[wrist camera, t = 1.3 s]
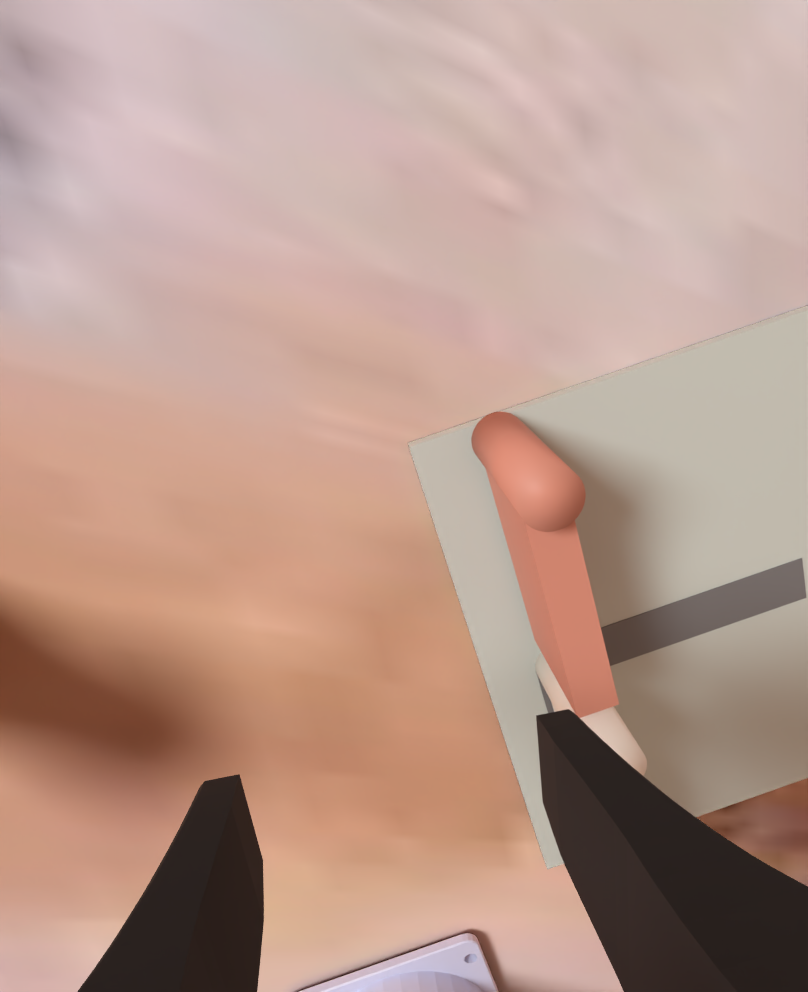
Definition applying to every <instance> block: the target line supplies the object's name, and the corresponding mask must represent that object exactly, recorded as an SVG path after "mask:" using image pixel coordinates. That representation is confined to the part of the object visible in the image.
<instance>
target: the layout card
mask: <svg viewBox="0 0 808 992" xmlns="http://www.w3.org/2000/svg"><path fill="white" fill-rule="evenodd" d="M499 412H507V413H511V414H513V415H515V416H516V417H517V418H518V419H519V420H521V421H522V422H523V423H524V424H525V425H526V426H527V427H528V428H529V429H530V430H531V431H532V432H533V433H534V434H535V435H536V436H537V437H538V438H539V439H540V440H541V441H542V442H543V443H545V444H546V445H547V446H548V447H549V448H550V449H551V450H552V451H553V452H554V453H555V454H556V455H557V456H558V457H559V458H560V459H561V460H562V461H563V462H564V463H565V464H566V465H567V466H569V467H570V468H571V469H572V470H573V471H574V472H575V473H576V474H577V475H578V476H579V477H580V479H581V480H582V482H583V484H584V487H585V492H586V498H585V503H584V507H583V509H582V511H581V513H580V514H579V516H578V517H577V518H576V519H575V523H576V527H577V532H578V536H579V540H580V544H581V548H582V552H583V556H584V560H585V565H586V569H587V573H588V577H589V581H590V585H591V589H592V594H593V598H594V602H595V606H596V610H597V614H598V618H599V623H600V627H601V631H602V635H603V639H604V643H605V647H606V651H607V656H608V660H609V664H610V668H611V672H612V676H613V680H614V685H615V689H616V693H617V697H618V701H619V705H616V706H614V707H615V709H616V711H617V712H618V714H619V715H620V717H621V718H622V720H623V722H624V723H625V725H626V726H627V728H628V729H629V731H630V733H631V734H632V736H633V737H634V739H635V741H636V742H637V744H638V745H639V747H640V748H641V750H642V752H643V753H644V755H645V757H646V759H647V768H646V772H645V774H644V775H643V776H644V777H645V778H646V779H647V780H649V781H650V782H651V783H652V784H653V785H655V786H656V787H657V788H658V789H659V790H661V791H662V792H663V793H665V794H666V795H667V796H668V797H670V798H671V799H672V800H673V801H675V802H676V803H677V804H679V805H680V806H681V807H683V808H684V809H685V810H687V811H688V812H689V813H691V814H692V815H693V816H695V817H698V816H701V815H704V814H707V813H710V812H712V811H715V810H718V809H721V808H724V807H727V806H729V805H732V804H735V803H738V802H741V801H744V800H747V799H749V798H752V797H755V796H758V795H761V794H764V793H766V792H769V791H772V790H775V789H778V788H781V787H784V786H786V785H789V784H792V783H795V782H798V781H801V780H803V779H806V778H808V305H807V306H804V307H801V308H799V309H796V310H793V311H790V312H787V313H784V314H781V315H778V316H775V317H772V318H769V319H767V320H764V321H761V322H758V323H755V324H752V325H749V326H746V327H743V328H740V329H738V330H735V331H732V332H729V333H726V334H723V335H720V336H717V337H714V338H711V339H708V340H706V341H703V342H700V343H697V344H694V345H691V346H688V347H685V348H682V349H679V350H676V351H674V352H671V353H668V354H665V355H662V356H659V357H656V358H653V359H650V360H647V361H645V362H642V363H639V364H636V365H633V366H630V367H627V368H624V369H621V370H618V371H615V372H613V373H610V374H607V375H604V376H601V377H598V378H595V379H592V380H589V381H586V382H583V383H581V384H578V385H575V386H572V387H569V388H566V389H563V390H560V391H557V392H554V393H552V394H549V395H546V396H543V397H540V398H537V399H534V400H531V401H528V402H525V403H522V404H520V405H517V406H514V407H511V408H508V409H505V410H502V411H499ZM482 418H484V417H482ZM482 418H479V419H476V420H473V421H470V422H467V423H464V424H461V425H459V426H456V427H453V428H450V429H447V430H444V431H441V432H438V433H435V434H432V435H429V436H427V437H424V438H421V439H418V440H415V441H412V442H409V443H408V446H409V449H410V452H411V455H412V458H413V462H414V465H415V468H416V471H417V474H418V477H419V480H420V483H421V486H422V489H423V492H424V495H425V498H426V501H427V504H428V507H429V510H430V513H431V516H432V520H433V523H434V526H435V529H436V532H437V535H438V538H439V541H440V544H441V547H442V550H443V553H444V556H445V559H446V562H447V565H448V568H449V571H450V574H451V578H452V581H453V584H454V587H455V590H456V593H457V596H458V599H459V602H460V605H461V608H462V611H463V614H464V617H465V620H466V623H467V626H468V629H469V632H470V636H471V639H472V642H473V645H474V648H475V651H476V654H477V657H478V660H479V663H480V666H481V669H482V672H483V675H484V678H485V681H486V684H487V687H488V691H489V694H490V697H491V700H492V703H493V706H494V709H495V712H496V715H497V718H498V721H499V724H500V727H501V730H502V733H503V736H504V739H505V742H506V745H507V749H508V752H509V755H510V758H511V761H512V764H513V767H514V770H515V773H516V776H517V779H518V782H519V785H520V788H521V791H522V794H523V797H524V800H525V803H526V807H527V810H528V813H529V816H530V819H531V822H532V825H533V828H534V831H535V834H536V837H537V840H538V843H539V846H540V849H541V852H542V855H543V858H544V861H545V864H546V867H547V869H550V868H553V867H556V866H559V865H562V864H564V862H563V860H562V857H561V855H560V852H559V849H558V846H557V843H556V840H555V838H554V835H553V832H552V829H551V826H550V823H549V820H548V817H547V814H546V811H545V808H544V805H543V801H542V787H541V774H540V761H539V748H538V734H537V721H536V715H541V714H546V713H551V712H554V710H553V706H552V703H551V700H550V698H549V696H548V694H547V693H546V691H545V689H544V687H543V685H542V683H541V681H540V679H539V677H538V675H537V673H536V670H535V663H536V659H537V657H538V655H539V654H540V653H541V650H540V649H539V647H538V645H537V643H536V641H535V639H534V636H533V632H532V629H531V625H530V622H529V618H528V615H527V611H526V608H525V604H524V601H523V597H522V594H521V590H520V587H519V583H518V580H517V577H516V573H515V570H514V566H513V563H512V559H511V556H510V552H509V549H508V545H507V542H506V538H505V535H504V531H503V528H502V524H501V521H500V517H499V514H498V510H497V507H496V503H495V500H494V496H493V493H492V489H491V486H490V482H489V479H488V475H487V472H486V468H485V467H484V465H483V464H482V463H481V461H480V460H479V459H478V457H477V456H476V454H475V453H474V451H473V448H472V443H471V439H472V433H473V430H474V428H475V426H476V425H477V423H478V422H479V421H480V420H481V419H482Z"/></svg>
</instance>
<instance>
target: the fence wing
mask: <svg viewBox="0 0 808 992" xmlns="http://www.w3.org/2000/svg"><path fill="white" fill-rule="evenodd" d="M471 443H472V448H473V451H474V453H475V454H476V456H477V457H478V459H479V460H480V461H481V463H482V464H483V465H484V467H485V468H486V472H487V475H488V479H489V482H490V486H491V489H492V493H493V496H494V500H495V503H496V507H497V510H498V514H499V517H500V521H501V524H502V528H503V531H504V535H505V538H506V542H507V545H508V549H509V552H510V556H511V559H512V563H513V566H514V570H515V573H516V577H517V580H518V583H519V587H520V590H521V594H522V597H523V601H524V604H525V608H526V611H527V615H528V618H529V622H530V625H531V629H532V632H533V636H534V639H535V641H536V643H537V645H538V647H539V649H540V650H541V652H542V654H543V656H544V658H545V660H546V661H547V663H548V665H549V667H550V669H551V670H552V672H553V674H554V676H555V678H556V680H557V681H558V683H559V685H560V687H561V689H562V690H563V692H564V694H565V696H566V698H567V700H568V701H569V703H570V705H571V707H572V709H573V710H574V712H575V714H576V715H577V716H578V717H579V718H582V717H584V716H587V715H590V714H593V713H596V712H599V711H602V710H604V709H607V708H610V707H613V706H616V705H619V701H618V697H617V693H616V689H615V685H614V680H613V676H612V672H611V668H610V664H609V660H608V656H607V651H606V647H605V643H604V639H603V635H602V631H601V627H600V623H599V618H598V614H597V610H596V606H595V602H594V598H593V594H592V589H591V585H590V581H589V577H588V573H587V569H586V565H585V560H584V556H583V552H582V548H581V544H580V540H579V536H578V532H577V527H576V523H575V519H576V518H577V517H578V516H579V514H580V513H581V511H582V509H583V507H584V503H585V498H586V492H585V487H584V484H583V482H582V480H581V479H580V477H579V476H578V475H577V474H576V473H575V472H574V471H573V470H572V469H571V468H570V467H569V466H567V465H566V464H565V463H564V462H563V461H562V460H561V459H560V458H559V457H558V456H557V455H556V454H555V453H554V452H553V451H552V450H551V449H550V448H549V447H548V446H547V445H546V444H545V443H543V442H542V441H541V440H540V439H539V438H538V437H537V436H536V435H535V434H534V433H533V432H532V431H531V430H530V429H529V428H528V427H527V426H526V425H525V424H524V423H523V422H522V421H521V420H519V419H518V418H517V417H516V416H515V415H513V414H511V413H507V412H494V413H491V414H489V415H487V416H485V417H484V418H482V419H481V420H480V421H479V422H478V423H477V425H476V426H475V428H474V430H473V433H472V439H471Z"/></svg>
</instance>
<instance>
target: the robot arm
mask: <svg viewBox="0 0 808 992" xmlns="http://www.w3.org/2000/svg"><path fill="white" fill-rule="evenodd" d="M536 721H537V734H538V748H539V761H540V774H541V787H542V801H543V805H544V808H545V811H546V814H547V817H548V820H549V823H550V826H551V829H552V832H553V835H554V838H555V840H556V843H557V846H558V849H559V852H560V855H561V857H562V860H563V862H564V864H565V866H566V868H567V870H568V873H569V875H570V877H571V879H572V881H573V883H574V886H575V888H576V890H577V892H578V894H579V896H580V898H581V901H582V903H583V905H584V907H585V909H586V911H587V913H588V915H589V917H590V920H591V922H592V924H593V926H594V928H595V930H596V932H597V934H598V937H599V939H600V941H601V943H602V945H603V947H604V949H605V951H606V954H607V956H608V958H609V960H610V962H611V964H612V966H613V968H614V970H615V973H616V975H617V977H618V979H619V981H620V984H621V986H622V988H623V991H624V992H808V887H807V886H805V885H804V884H802V883H800V882H798V881H796V880H794V879H793V878H791V877H789V876H787V875H785V874H783V873H782V872H780V871H778V870H776V869H774V868H772V867H771V866H769V865H767V864H766V863H764V862H762V861H761V860H759V859H757V858H756V857H754V856H752V855H751V854H749V853H747V852H746V851H744V850H743V849H741V848H740V847H738V846H737V845H735V844H734V843H732V842H730V841H729V840H727V839H726V838H724V837H723V836H721V835H720V834H718V833H717V832H716V831H714V830H713V829H711V828H710V827H708V826H707V825H706V824H704V823H703V822H701V821H700V820H699V819H697V818H696V817H695V816H693V815H692V814H691V813H689V812H688V811H687V810H685V809H684V808H683V807H681V806H680V805H679V804H677V803H676V802H675V801H673V800H672V799H671V798H670V797H668V796H667V795H666V794H665V793H663V792H662V791H661V790H659V789H658V788H657V787H656V786H655V785H653V784H652V783H651V782H650V781H649V780H647V779H646V778H645V777H644V776H643V775H642V774H640V773H639V772H638V771H637V770H636V769H634V768H633V767H632V766H631V765H630V764H629V763H627V762H626V761H625V760H624V759H623V758H622V757H621V756H620V755H618V754H617V753H616V752H615V751H614V750H613V749H612V748H611V747H610V746H609V745H607V744H606V743H605V742H604V741H603V740H602V739H601V738H600V737H599V736H598V735H597V734H596V733H595V732H594V731H593V730H591V729H590V728H589V727H588V726H587V725H586V724H585V723H584V722H583V721H582V720H581V719H580V718H579V717H578V716H577V715H576V714H575V713H574V712H572V711H571V710H569V709H566V710H561V711H556V712H551V713H546V714H541V715H536ZM263 922H264V894H263V859H262V856H261V852H260V848H259V845H258V841H257V837H256V834H255V830H254V826H253V823H252V819H251V815H250V812H249V808H248V804H247V801H246V797H245V793H244V790H243V786H242V782H241V779H240V775H234V776H229V777H224V778H219V779H214V780H209V781H204V783H203V784H202V785H201V786H200V788H199V790H198V792H197V794H196V796H195V798H194V800H193V802H192V804H191V806H190V808H189V810H188V812H187V814H186V816H185V818H184V820H183V822H182V824H181V826H180V828H179V830H178V832H177V834H176V836H175V838H174V840H173V842H172V843H171V845H170V847H169V849H168V851H167V853H166V854H165V856H164V858H163V860H162V862H161V863H160V865H159V867H158V869H157V870H156V872H155V874H154V876H153V878H152V879H151V881H150V883H149V885H148V886H147V888H146V890H145V891H144V893H143V895H142V896H141V898H140V900H139V901H138V903H137V904H136V906H135V908H134V909H133V911H132V912H131V914H130V916H129V917H128V919H127V920H126V922H125V923H124V925H123V927H122V928H121V930H120V931H119V933H118V935H117V936H116V938H115V939H114V941H113V942H112V944H111V945H110V947H109V948H108V950H107V951H106V953H105V954H104V955H103V957H102V958H101V960H100V961H99V963H98V964H97V966H96V967H95V968H94V970H93V971H92V973H91V974H90V975H89V977H88V978H87V979H86V981H85V982H84V983H83V985H82V986H81V988H80V989H79V990H78V992H257V987H258V976H259V966H260V955H261V945H262V934H263ZM299 992H499V991H498V988H497V986H496V984H495V981H494V979H493V976H492V974H491V971H490V969H489V966H488V964H487V961H486V959H485V956H484V954H483V951H482V949H481V946H480V944H479V941H478V939H477V937H476V936H475V935H473V934H471V933H464V934H461V935H458V936H455V937H452V938H449V939H446V940H443V941H441V942H438V943H435V944H432V945H429V946H426V947H424V948H421V949H418V950H415V951H412V952H409V953H407V954H404V955H401V956H398V957H395V958H392V959H389V960H387V961H384V962H381V963H378V964H375V965H372V966H370V967H367V968H364V969H361V970H358V971H355V972H353V973H350V974H347V975H344V976H341V977H338V978H335V979H333V980H330V981H327V982H324V983H321V984H318V985H316V986H313V987H310V988H307V989H304V990H301V991H299Z"/></svg>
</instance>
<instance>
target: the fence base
mask: <svg viewBox="0 0 808 992" xmlns="http://www.w3.org/2000/svg"><path fill="white" fill-rule="evenodd" d="M535 670H536V673H537V675H538V677H539V679H540V681H541V683H542V685H543V687H544V689H545V691H546V693H547V694H548V696H549V698H550V700H551V703H552V706H553V710H554V712H556V711H561V710H566V709H569V710H571V711H572V712H574V710H573V709H572V707H571V705H570V703H569V701H568V700H567V698H566V696H565V694H564V692H563V690H562V689H561V687H560V685H559V683H558V681H557V680H556V678H555V676H554V674H553V672H552V670H551V669H550V667H549V665H548V663H547V661H546V660H545V658H544V656H543V654H542V652H541V653H540V654H539V655H538V657H537V659H536V663H535ZM574 713H575V712H574ZM580 719H581V720H582V721H583V722H584V723H585V724H586V725H587V726H588V727H589V728H590V729H591V730H593V731H594V732H595V733H596V734H597V735H598V736H599V737H600V738H601V739H602V740H603V741H604V742H605V743H606V744H607V745H609V746H610V747H611V748H612V749H613V750H614V751H615V752H616V753H617V754H618V755H620V756H621V757H622V758H623V759H624V760H625V761H626V762H627V763H629V764H630V765H631V766H632V767H633V768H634V769H636V770H637V771H638V772H639V773H640V774H642V775H644V774H645V772H646V768H647V759H646V757H645V755H644V753H643V752H642V750H641V748H640V747H639V745H638V744H637V742H636V741H635V739H634V737H633V736H632V734H631V733H630V731H629V729H628V728H627V726H626V725H625V723H624V722H623V720H622V718H621V717H620V715H619V714H618V712H617V711H616V709H615V707H614V706H613V707H610V708H607V709H604V710H602V711H599V712H596V713H593V714H590V715H587V716H584V717H582V718H580Z"/></svg>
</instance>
